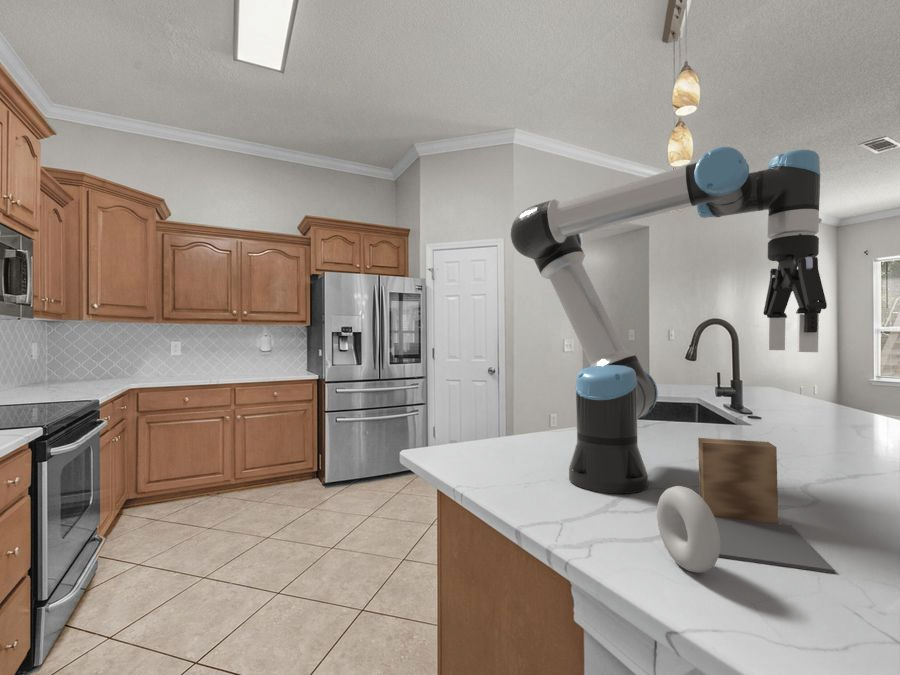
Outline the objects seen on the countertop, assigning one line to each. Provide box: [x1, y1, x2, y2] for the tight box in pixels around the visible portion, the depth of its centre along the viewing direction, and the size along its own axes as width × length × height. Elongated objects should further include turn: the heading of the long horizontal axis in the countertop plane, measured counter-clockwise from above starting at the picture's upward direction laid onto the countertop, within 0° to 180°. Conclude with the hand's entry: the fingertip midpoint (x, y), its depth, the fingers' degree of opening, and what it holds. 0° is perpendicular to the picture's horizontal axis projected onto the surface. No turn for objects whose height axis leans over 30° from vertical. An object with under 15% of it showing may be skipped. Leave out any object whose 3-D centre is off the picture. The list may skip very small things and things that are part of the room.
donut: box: [656, 485, 721, 573], centre depth 55 cm, size 10×4×10 cm, turn 5°
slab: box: [697, 437, 779, 524], centre depth 71 cm, size 10×4×12 cm, turn 69°
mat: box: [715, 517, 836, 574], centre depth 62 cm, size 13×14×1 cm
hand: (790, 351), depth 82 cm, fingers open, 13 cm apart
